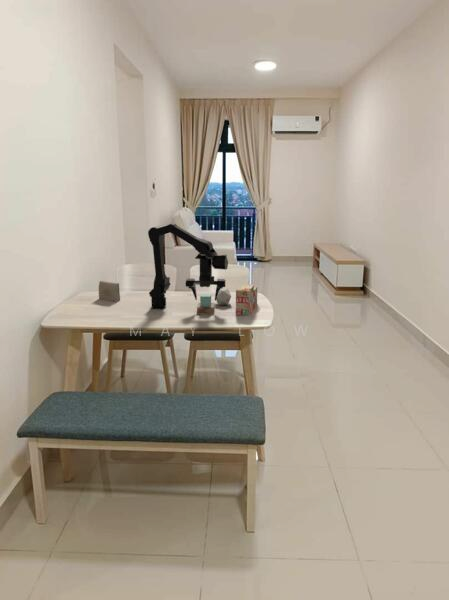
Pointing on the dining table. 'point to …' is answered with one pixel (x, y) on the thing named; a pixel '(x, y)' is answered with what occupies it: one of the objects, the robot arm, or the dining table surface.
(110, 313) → the dining table surface
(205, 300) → the teal cube
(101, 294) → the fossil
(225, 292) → the die
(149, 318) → the dining table surface
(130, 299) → the dining table surface
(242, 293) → the printed cardboard box
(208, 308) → the walnut base
